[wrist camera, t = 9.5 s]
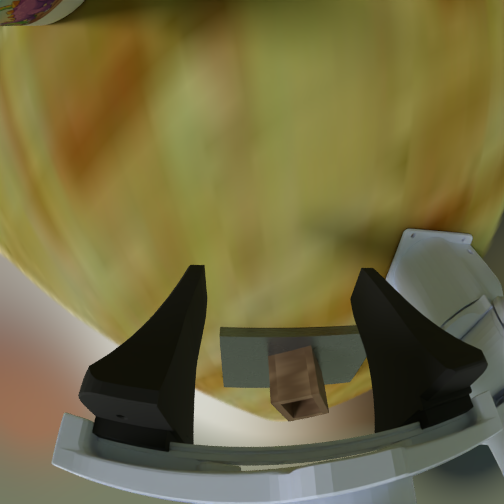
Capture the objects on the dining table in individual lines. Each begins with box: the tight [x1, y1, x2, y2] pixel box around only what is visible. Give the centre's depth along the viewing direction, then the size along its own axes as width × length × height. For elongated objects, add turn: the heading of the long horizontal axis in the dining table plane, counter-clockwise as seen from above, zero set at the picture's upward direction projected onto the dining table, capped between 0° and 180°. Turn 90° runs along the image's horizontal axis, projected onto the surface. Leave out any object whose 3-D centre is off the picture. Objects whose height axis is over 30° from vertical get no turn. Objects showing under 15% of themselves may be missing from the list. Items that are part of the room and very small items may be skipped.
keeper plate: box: [220, 326, 367, 388], centre depth 31 cm, size 18×12×5 cm, turn 88°
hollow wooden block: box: [268, 345, 329, 421], centre depth 29 cm, size 5×7×6 cm
